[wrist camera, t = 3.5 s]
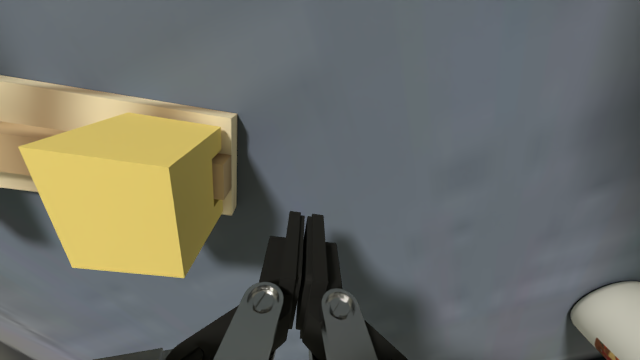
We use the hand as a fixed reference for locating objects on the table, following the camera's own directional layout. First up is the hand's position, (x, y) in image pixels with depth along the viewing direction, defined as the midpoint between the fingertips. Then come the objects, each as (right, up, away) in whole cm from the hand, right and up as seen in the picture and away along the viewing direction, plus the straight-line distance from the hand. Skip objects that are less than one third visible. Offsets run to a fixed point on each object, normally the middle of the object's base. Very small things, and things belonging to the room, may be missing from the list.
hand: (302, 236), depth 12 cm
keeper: (-8, +4, +3) cm, 9 cm away
